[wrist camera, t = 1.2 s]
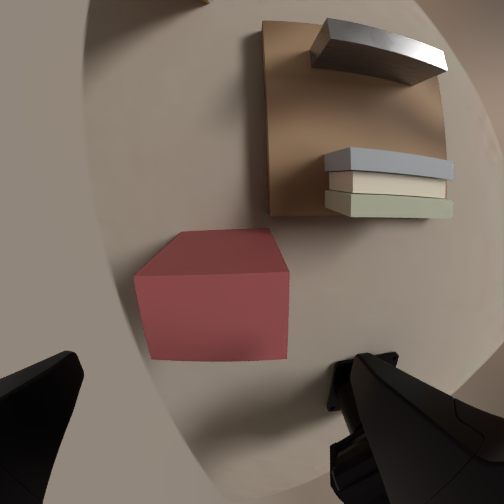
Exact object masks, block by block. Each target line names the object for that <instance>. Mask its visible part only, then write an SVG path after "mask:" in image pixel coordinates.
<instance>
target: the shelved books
mask: <svg viewBox="0 0 504 504" xmlns="http://www.w3.org/2000/svg"><path fill="white" fill-rule="evenodd" d="M324 164H325V171H329V189H330V190H325V207H326V208H328V209H331V210H334V211H336V212H339V213H341V214H344V215H346V216H349V217H395V218H437V219H452V217H453V200H448V199H442V198H445V183H446V180H454V162H453V161H448V160H443V159H438V158H432V157H427V156H421V155H414V154H408V153H401V152H393V151H385V150H377V149H367V148H356V147H349V148H345V149H341V150H338V151H334V152H331V153H327V154H324ZM441 179H446V180H441Z"/></svg>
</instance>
